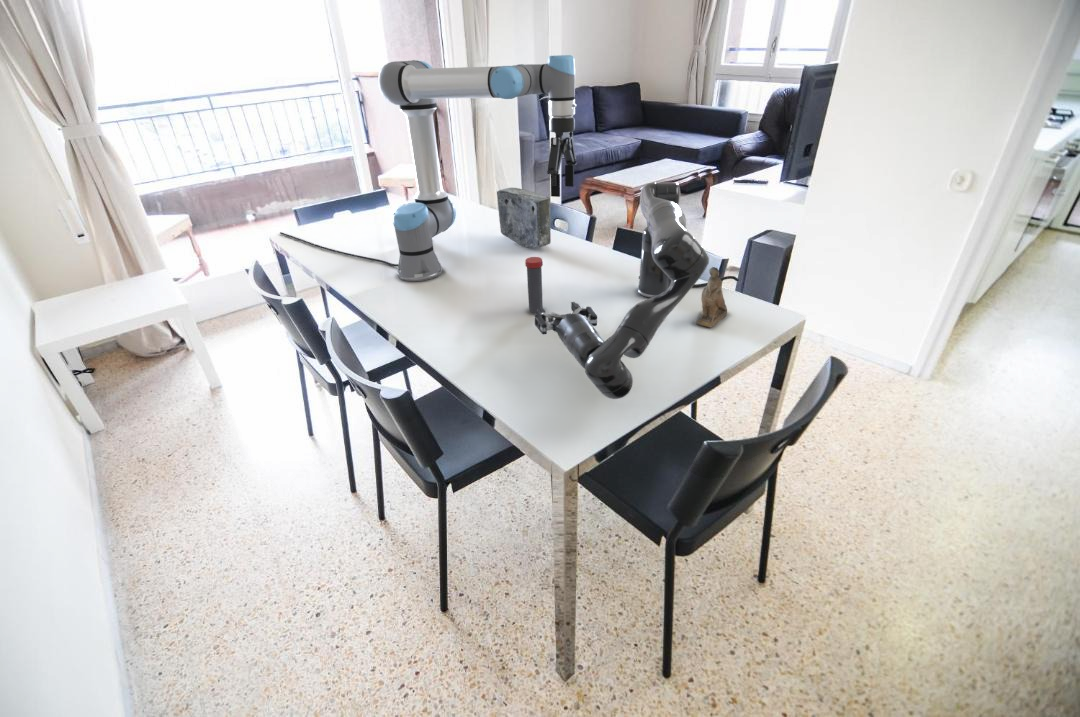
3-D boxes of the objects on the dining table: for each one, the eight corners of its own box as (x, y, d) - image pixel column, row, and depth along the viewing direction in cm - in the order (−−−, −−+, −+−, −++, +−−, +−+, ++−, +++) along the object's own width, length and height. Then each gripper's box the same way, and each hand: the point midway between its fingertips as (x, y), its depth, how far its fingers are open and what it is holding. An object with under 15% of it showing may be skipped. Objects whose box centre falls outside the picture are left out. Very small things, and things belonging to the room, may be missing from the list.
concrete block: (555, 250, 192) (555, 197, 181) (537, 255, 188) (535, 201, 177) (517, 234, 210) (514, 185, 200) (499, 238, 206) (496, 189, 196)
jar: (528, 313, 146) (525, 263, 138) (529, 307, 150) (527, 258, 141) (542, 314, 146) (540, 264, 138) (543, 308, 149) (541, 258, 141)
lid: (524, 268, 138) (524, 262, 137) (526, 262, 142) (526, 256, 142) (541, 268, 138) (541, 262, 137) (543, 262, 142) (543, 256, 141)
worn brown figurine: (709, 335, 136) (713, 280, 124) (691, 329, 139) (693, 274, 128) (730, 313, 142) (736, 258, 130) (712, 307, 145) (716, 253, 133)
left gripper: (560, 121, 134) (561, 201, 145) (586, 112, 154) (585, 183, 165) (534, 121, 137) (537, 200, 148) (563, 112, 156) (564, 181, 167)
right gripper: (549, 356, 110) (529, 325, 124) (608, 346, 114) (583, 316, 127) (548, 326, 107) (528, 297, 120) (609, 316, 110) (583, 289, 123)
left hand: (562, 191), depth 156 cm, fingers open, 13 cm apart
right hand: (556, 307), depth 124 cm, fingers open, 8 cm apart
